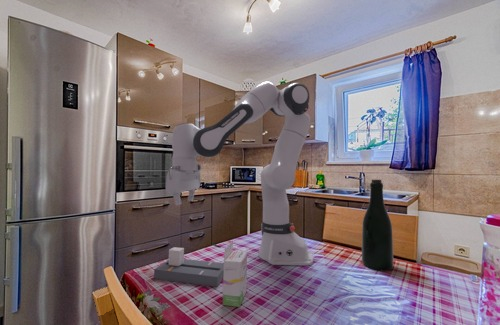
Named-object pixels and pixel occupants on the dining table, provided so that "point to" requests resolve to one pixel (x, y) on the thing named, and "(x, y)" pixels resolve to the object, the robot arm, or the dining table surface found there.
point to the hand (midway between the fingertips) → (184, 202)
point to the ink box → (234, 276)
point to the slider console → (192, 272)
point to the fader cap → (176, 256)
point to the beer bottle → (377, 231)
